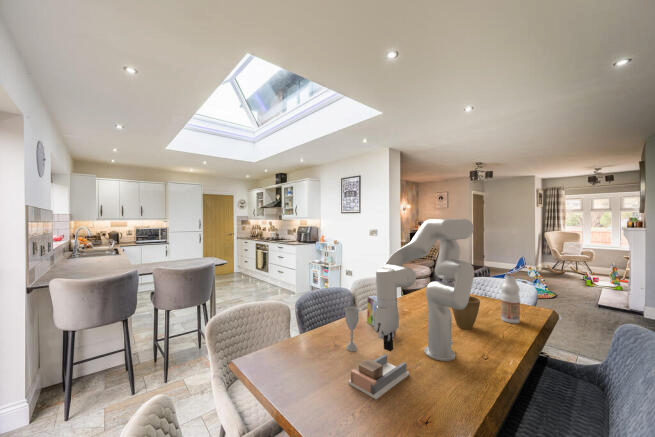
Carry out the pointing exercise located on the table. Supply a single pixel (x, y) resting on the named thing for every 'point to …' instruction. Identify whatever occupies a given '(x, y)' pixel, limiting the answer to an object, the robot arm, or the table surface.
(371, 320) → the snack box
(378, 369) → the walnut block
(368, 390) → the chute
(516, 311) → the white plastic bottle
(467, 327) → the plant pot
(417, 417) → the table surface
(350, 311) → the chalice
